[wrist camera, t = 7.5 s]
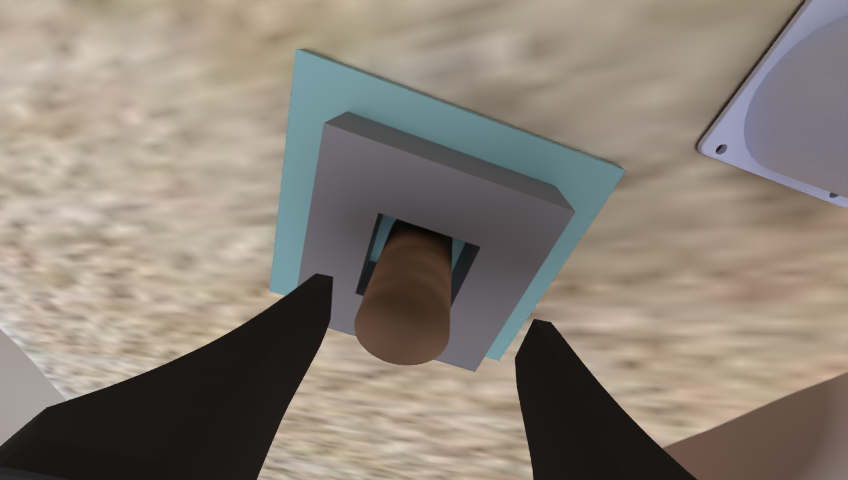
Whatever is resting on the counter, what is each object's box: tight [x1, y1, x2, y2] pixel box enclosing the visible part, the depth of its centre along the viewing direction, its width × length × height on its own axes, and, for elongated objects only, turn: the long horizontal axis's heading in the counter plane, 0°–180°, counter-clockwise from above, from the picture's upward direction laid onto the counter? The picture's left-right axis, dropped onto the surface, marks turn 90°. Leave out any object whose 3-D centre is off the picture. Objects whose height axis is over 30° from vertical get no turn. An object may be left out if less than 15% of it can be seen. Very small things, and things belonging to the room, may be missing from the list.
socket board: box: [270, 49, 626, 372], centre depth 19 cm, size 18×16×4 cm
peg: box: [354, 219, 453, 365], centre depth 17 cm, size 4×4×8 cm
